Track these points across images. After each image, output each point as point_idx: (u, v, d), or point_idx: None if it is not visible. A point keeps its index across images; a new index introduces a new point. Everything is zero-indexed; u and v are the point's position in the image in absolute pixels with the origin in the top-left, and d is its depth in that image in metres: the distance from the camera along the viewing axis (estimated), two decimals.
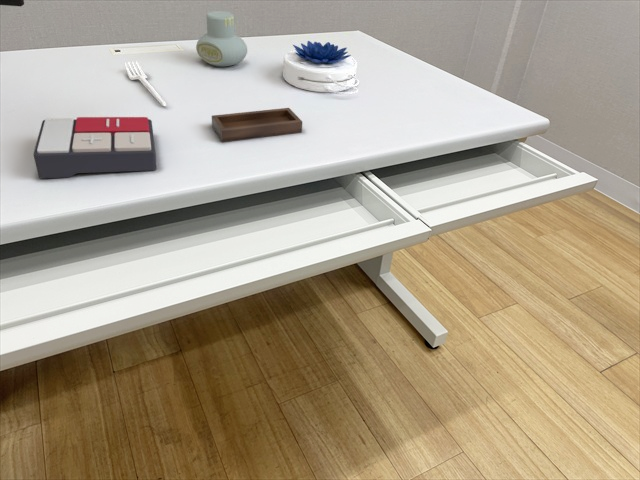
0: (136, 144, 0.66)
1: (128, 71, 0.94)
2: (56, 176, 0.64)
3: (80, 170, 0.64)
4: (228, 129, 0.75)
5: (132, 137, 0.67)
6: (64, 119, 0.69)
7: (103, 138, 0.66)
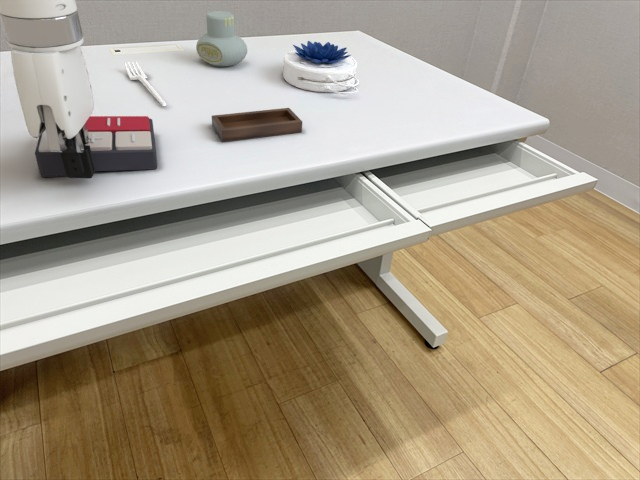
0: (137, 143, 0.66)
1: (128, 71, 0.94)
2: (57, 175, 0.64)
3: None
4: (228, 129, 0.75)
5: (133, 136, 0.67)
6: None
7: (104, 137, 0.66)
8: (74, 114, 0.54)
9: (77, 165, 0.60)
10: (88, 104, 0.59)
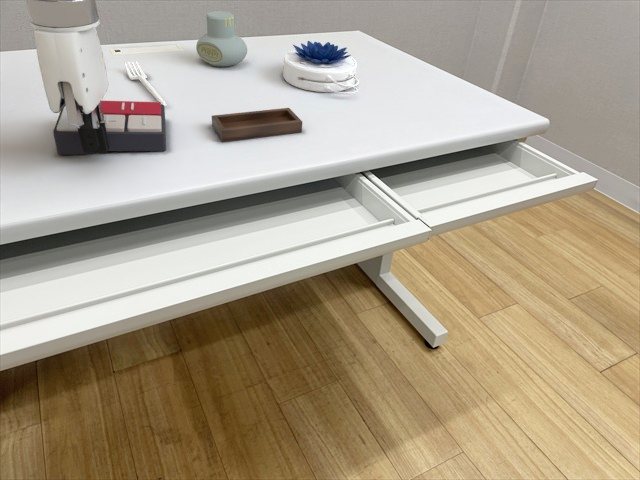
0: (147, 126, 0.70)
1: (128, 71, 0.94)
2: (73, 153, 0.69)
3: None
4: (228, 129, 0.75)
5: (144, 119, 0.71)
6: None
7: (117, 119, 0.70)
8: (91, 91, 0.59)
9: (93, 141, 0.65)
10: (103, 83, 0.63)
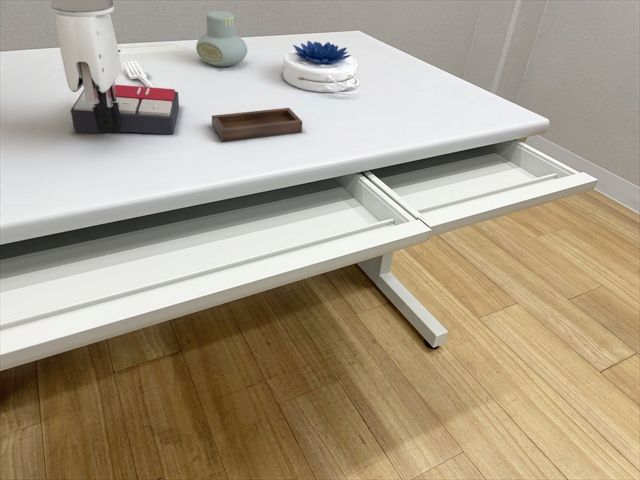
0: (157, 109, 0.75)
1: (128, 70, 0.94)
2: (88, 131, 0.74)
3: None
4: (228, 129, 0.75)
5: (155, 104, 0.76)
6: None
7: (131, 102, 0.76)
8: (106, 71, 0.64)
9: (107, 119, 0.70)
10: (116, 65, 0.68)
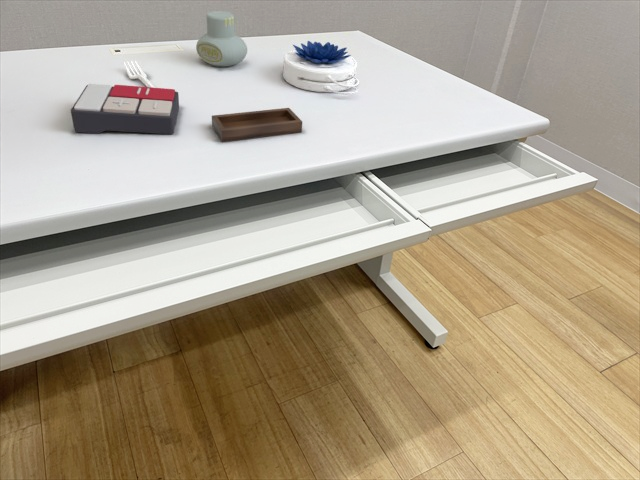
0: (157, 109, 0.75)
1: (128, 70, 0.94)
2: (88, 131, 0.74)
3: (108, 128, 0.74)
4: (228, 129, 0.75)
5: (155, 103, 0.76)
6: (104, 85, 0.80)
7: (131, 102, 0.76)
8: None
9: None
10: None
